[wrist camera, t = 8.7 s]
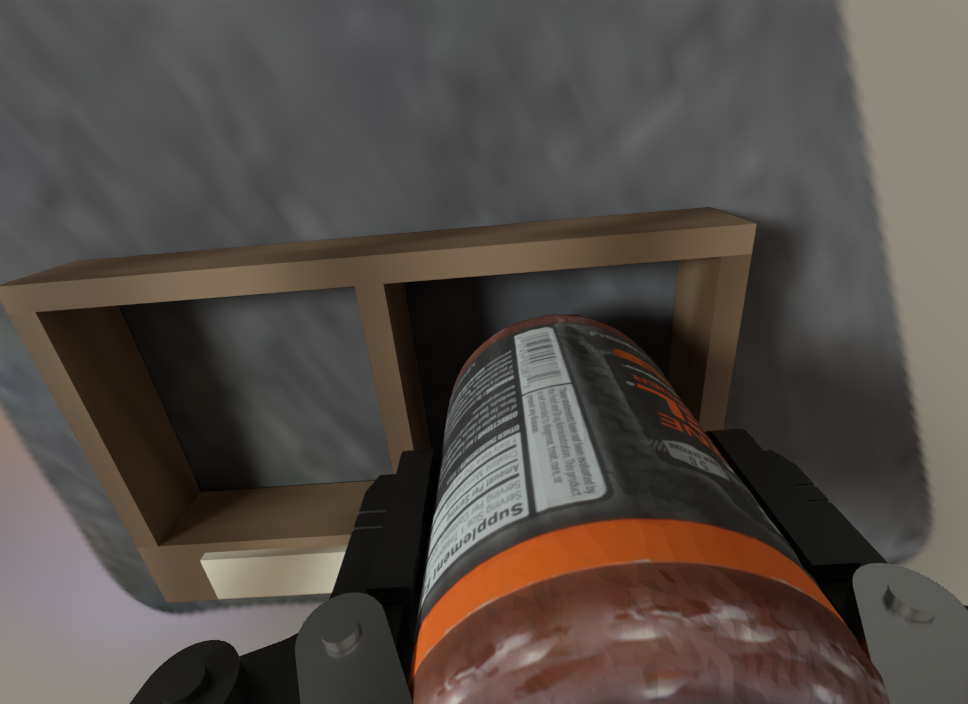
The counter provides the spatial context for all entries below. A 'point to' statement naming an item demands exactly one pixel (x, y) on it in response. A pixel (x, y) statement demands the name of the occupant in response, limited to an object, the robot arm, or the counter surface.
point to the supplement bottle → (608, 546)
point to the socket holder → (387, 327)
